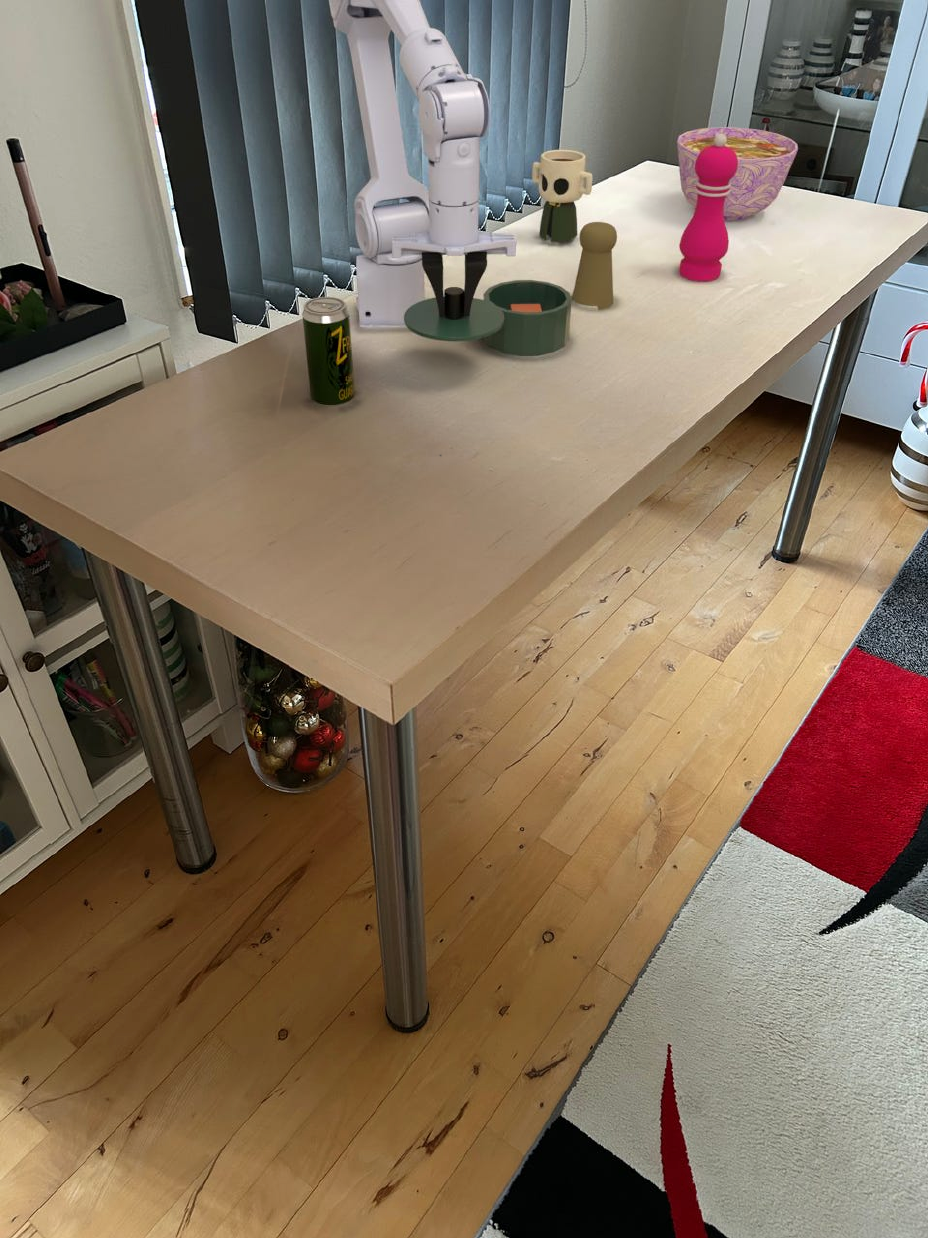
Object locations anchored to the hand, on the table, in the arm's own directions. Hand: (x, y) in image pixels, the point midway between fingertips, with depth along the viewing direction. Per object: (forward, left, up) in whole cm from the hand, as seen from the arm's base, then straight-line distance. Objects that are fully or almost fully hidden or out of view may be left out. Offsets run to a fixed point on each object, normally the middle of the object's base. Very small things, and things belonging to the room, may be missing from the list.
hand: (453, 313), depth 124 cm
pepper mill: (+39, +32, -8) cm, 51 cm away
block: (+10, +9, -7) cm, 15 cm away
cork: (+21, +22, -8) cm, 31 cm away
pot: (+10, +9, -8) cm, 15 cm away
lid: (0, 0, -1) cm, 1 cm away
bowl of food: (+50, +60, -8) cm, 78 cm away
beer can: (-15, -7, -8) cm, 18 cm away
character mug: (+19, +48, -8) cm, 52 cm away
